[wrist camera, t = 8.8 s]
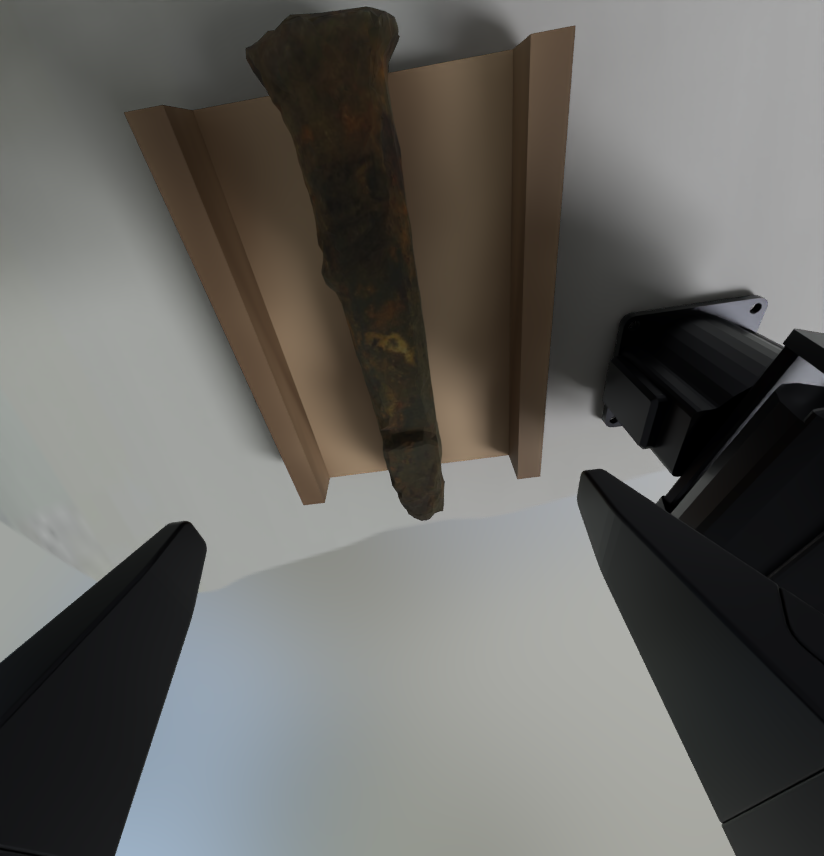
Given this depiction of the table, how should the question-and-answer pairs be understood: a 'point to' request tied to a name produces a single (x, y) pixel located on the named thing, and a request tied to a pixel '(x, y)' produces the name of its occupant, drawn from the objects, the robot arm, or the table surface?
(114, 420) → the table surface
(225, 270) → the tool cradle
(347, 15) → the hand tool
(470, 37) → the table surface
